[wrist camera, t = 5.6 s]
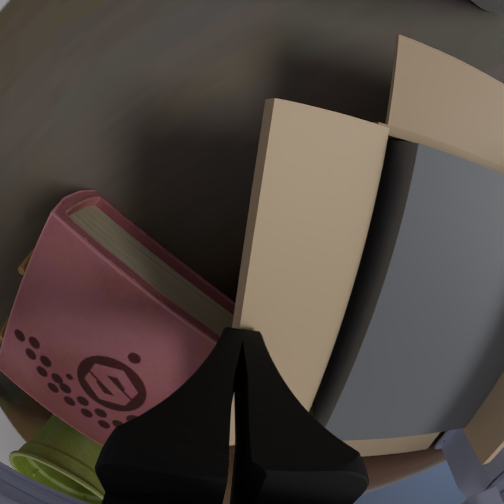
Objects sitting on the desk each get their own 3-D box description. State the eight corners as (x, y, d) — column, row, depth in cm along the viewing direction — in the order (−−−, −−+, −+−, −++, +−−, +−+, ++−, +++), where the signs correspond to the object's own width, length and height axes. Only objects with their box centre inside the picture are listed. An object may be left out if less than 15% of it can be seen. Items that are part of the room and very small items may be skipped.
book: (88, 180, 17) (39, 199, 12) (283, 334, 20) (288, 389, 16) (20, 323, 21) (-13, 358, 16) (166, 428, 24) (154, 473, 20)
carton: (414, 410, 23) (437, 464, 17) (279, 410, 22) (282, 477, 17) (517, 120, 14) (584, 129, 8) (357, 53, 14) (407, 19, 8)
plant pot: (32, 384, 23) (-11, 447, 15) (102, 376, 22) (58, 462, 14) (85, 446, 26) (59, 508, 18) (157, 447, 25) (137, 524, 17)
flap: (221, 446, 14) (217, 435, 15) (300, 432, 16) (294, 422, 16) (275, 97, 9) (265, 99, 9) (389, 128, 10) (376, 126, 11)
